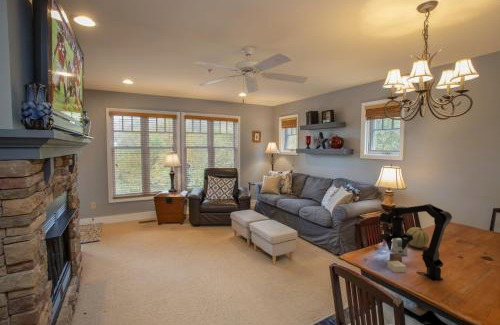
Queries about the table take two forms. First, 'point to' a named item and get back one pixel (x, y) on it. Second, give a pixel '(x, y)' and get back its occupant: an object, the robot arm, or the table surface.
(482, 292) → the table surface
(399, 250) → the light bulb box
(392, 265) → the cream block
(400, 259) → the walnut cube
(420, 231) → the cantaloupe
